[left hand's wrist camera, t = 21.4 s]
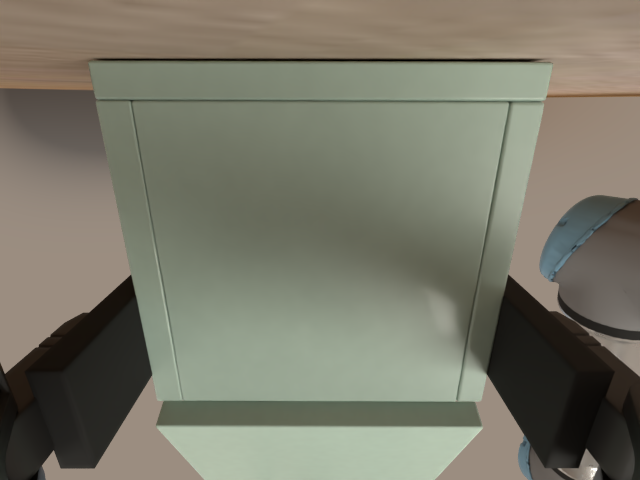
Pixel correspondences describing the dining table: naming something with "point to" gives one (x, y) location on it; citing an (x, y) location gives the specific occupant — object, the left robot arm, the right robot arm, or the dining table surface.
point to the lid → (319, 438)
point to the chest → (319, 220)
